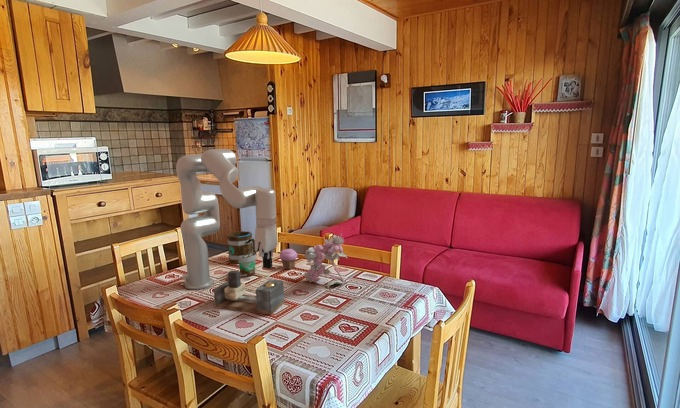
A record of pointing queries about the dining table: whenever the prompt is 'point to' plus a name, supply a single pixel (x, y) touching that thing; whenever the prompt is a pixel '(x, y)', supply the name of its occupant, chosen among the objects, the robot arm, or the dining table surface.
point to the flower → (317, 256)
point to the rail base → (245, 306)
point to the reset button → (270, 284)
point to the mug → (239, 245)
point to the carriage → (234, 286)
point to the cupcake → (288, 258)
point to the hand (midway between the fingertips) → (267, 267)
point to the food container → (247, 265)
